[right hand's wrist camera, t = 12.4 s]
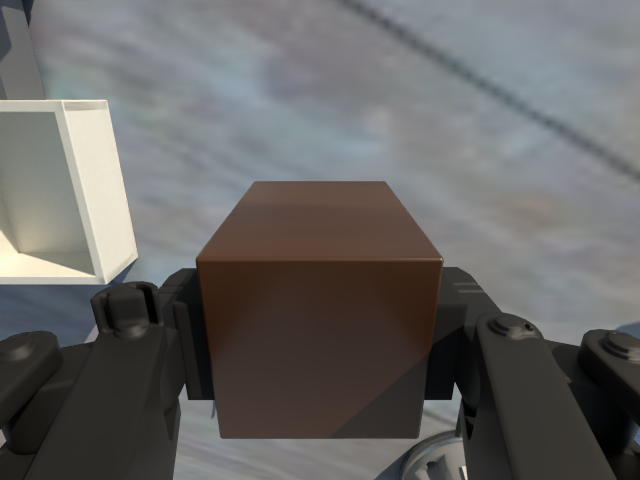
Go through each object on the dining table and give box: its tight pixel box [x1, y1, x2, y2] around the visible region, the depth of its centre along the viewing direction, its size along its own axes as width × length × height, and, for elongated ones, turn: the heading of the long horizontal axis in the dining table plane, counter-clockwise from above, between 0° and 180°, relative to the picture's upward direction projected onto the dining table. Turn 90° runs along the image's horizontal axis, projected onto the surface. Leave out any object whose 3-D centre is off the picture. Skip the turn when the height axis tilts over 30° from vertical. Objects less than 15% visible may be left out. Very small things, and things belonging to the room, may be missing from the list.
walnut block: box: [196, 181, 444, 439], centre depth 11 cm, size 5×5×7 cm
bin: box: [0, 0, 138, 285], centre depth 28 cm, size 27×12×6 cm, turn 0°
